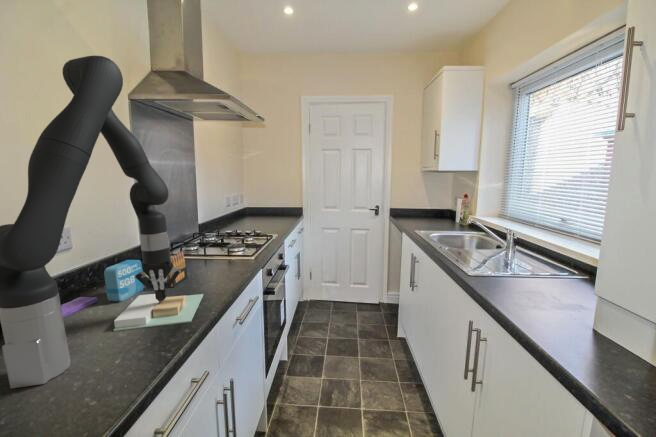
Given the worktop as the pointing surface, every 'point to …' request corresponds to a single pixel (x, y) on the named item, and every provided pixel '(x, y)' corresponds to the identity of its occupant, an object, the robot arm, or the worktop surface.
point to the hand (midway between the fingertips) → (161, 300)
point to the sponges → (77, 305)
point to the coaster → (169, 306)
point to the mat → (183, 316)
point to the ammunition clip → (178, 264)
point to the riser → (137, 312)
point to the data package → (123, 280)
